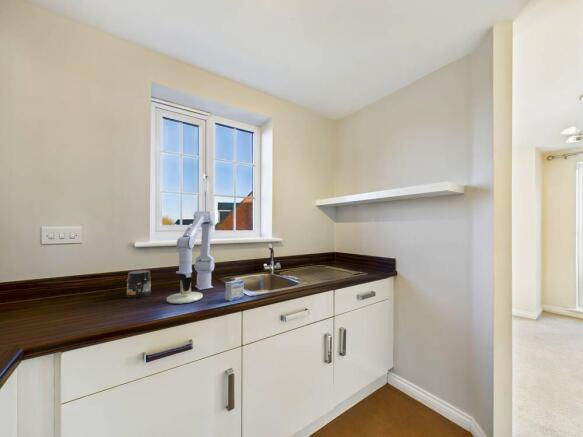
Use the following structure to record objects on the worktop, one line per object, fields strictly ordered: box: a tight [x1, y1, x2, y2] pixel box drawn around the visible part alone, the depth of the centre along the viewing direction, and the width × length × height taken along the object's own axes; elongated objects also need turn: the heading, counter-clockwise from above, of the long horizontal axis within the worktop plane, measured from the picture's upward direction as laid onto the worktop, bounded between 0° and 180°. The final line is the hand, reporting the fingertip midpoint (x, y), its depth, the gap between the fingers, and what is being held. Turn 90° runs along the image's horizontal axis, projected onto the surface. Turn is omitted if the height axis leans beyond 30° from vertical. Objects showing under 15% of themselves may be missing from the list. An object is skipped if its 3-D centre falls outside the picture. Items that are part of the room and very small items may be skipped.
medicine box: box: [225, 279, 245, 302], centre depth 119 cm, size 8×4×9 cm, turn 143°
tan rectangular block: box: [179, 281, 192, 295], centre depth 119 cm, size 4×4×6 cm
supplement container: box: [126, 269, 152, 299], centre depth 126 cm, size 10×10×12 cm
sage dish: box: [166, 291, 204, 304], centre depth 118 cm, size 16×16×2 cm
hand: (185, 289), depth 119 cm, fingers closed on tan rectangular block, 4 cm apart
